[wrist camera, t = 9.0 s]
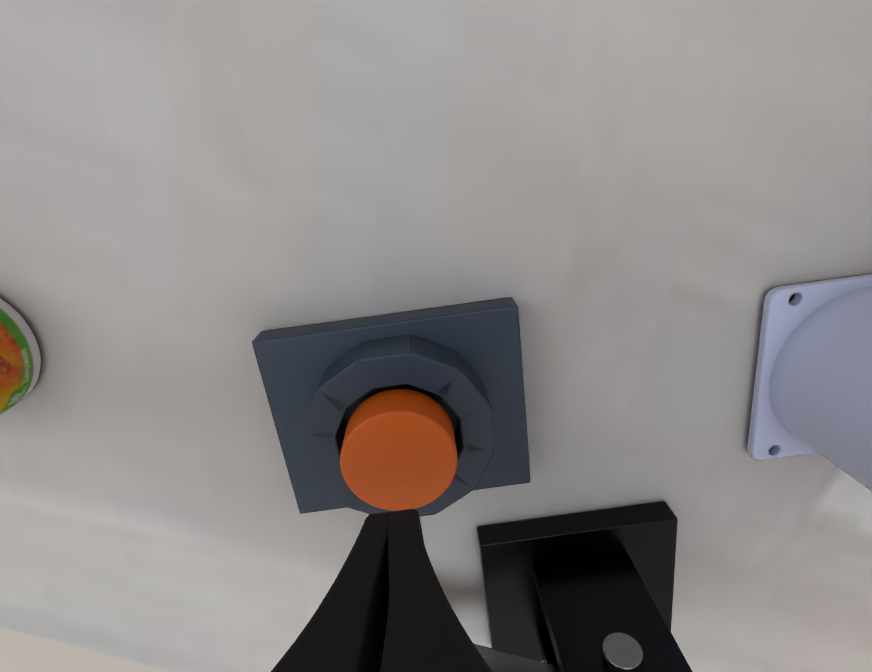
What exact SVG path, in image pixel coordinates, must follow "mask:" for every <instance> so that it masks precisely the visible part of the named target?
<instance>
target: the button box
mask: <svg viewBox="0 0 872 672" xmlns="http://www.w3.org/2000/svg"><path fill="white" fill-rule="evenodd" d="M252 344H253V348H254V351H255V355H256V359H257V362H258V366H259V369H260V373H261V376H262V380H263V383H264V387H265V391H266V394H267V398H268V401H269V405H270V408H271V412H272V415H273V419H274V423H275V426H276V430H277V433H278V437H279V440H280V444H281V447H282V451H283V455H284V458H285V462H286V465H287V469H288V472H289V476H290V479H291V483H292V487H293V490H294V494H295V497H296V501H297V504H298V508H299V511H300V513H309V512H316V511H323V510H331V509H338V508H345V507H348V508H352V509H355V510H358V511H362V512H365V513H368V514H377V513H384V512H392V511H391V510H385V509H380V508H377V507H374V506H372V505H370V504H368V503H366V502H364V501H363V500H361V499H360V498H359V497H357V496H356V495H355V494H354V493H353V492H352V491H351V490H350V488H349V487H348V485H347V484H346V482H345V480H344V478H343V475H342V472H341V468H340V454H341V448H342V444H343V440H344V436H345V432H346V428H347V424H348V421H349V419H350V417H351V415H352V413H353V412H354V411H355V409H356V408H357V407H358V406H359V405H360V404H361V403H362V402H363V401H365V400H366V399H368V398H369V397H371V396H373V395H375V394H377V393H380V392H383V391H387V390H392V389H408V390H414V391H417V392H421V393H423V394H425V395H427V396H429V397H431V398H433V399H434V400H435V401H437V402H438V403H439V404H440V405H441V406H442V407H443V408H444V409H445V411H446V412H447V414H448V415H449V417H450V419H451V422H452V425H453V430H454V436H455V443H456V449H457V458H458V463H457V470H456V474H455V476H454V478H453V480H452V482H451V484H450V486H449V487H448V488H447V489H446V491H445V492H444V493H443V494H442V495H441V496H440V497H438V498H437V499H436V500H434V501H433V502H431V503H429V504H427V505H425V506H423V507H420V508H416V509H415V510H417V511H418V512H419V516H426V515H433V514H436V513H439V512H440V511H442V510H443V509H445V508H446V507H448V506H449V505H451V504H452V503H454V502H456V501H457V500H459V499H460V498H462V497H463V496H465V495H466V494H468V493H469V492H471V491H472V490H478V489H485V488H492V487H500V486H507V485H514V484H522V483H529V482H530V467H529V453H528V439H527V425H526V411H525V397H524V383H523V369H522V355H521V341H520V327H519V313H518V306H517V304H516V303H515V302H514V300H513V299H512V298H503V299H496V300H488V301H481V302H474V303H466V304H459V305H452V306H444V307H437V308H430V309H422V310H415V311H408V312H400V313H393V314H386V315H379V316H371V317H364V318H357V319H349V320H342V321H335V322H327V323H320V324H313V325H305V326H298V327H291V328H283V329H276V330H269V331H262V332H260V333H259V335H258V336H257V337H256V338H255V339H254V340H253V341H252Z"/></svg>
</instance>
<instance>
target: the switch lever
mask: <svg viewBox="0 0 872 672" xmlns="http://www.w3.org/2000/svg"><path fill="white" fill-rule="evenodd" d="M474 645H475V647H476V648H477V650H478V651H479V653H480V654H481V656H482V657H483V658H484V660H485V661H486V663H487V664H488V666H489V667H490V669H491V670H492V671H493V672H560V669H559V666H558V665H554V664H550V663H546V662H542V661H538V660H534V659H531V658H527V657H523V656H519V655H515V654H511V653H507V652H503V651H500V650H496V649H492V648H488V647H484V646H480V645H476V644H474Z"/></svg>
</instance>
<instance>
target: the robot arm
mask: <svg viewBox="0 0 872 672" xmlns="http://www.w3.org/2000/svg"><path fill="white" fill-rule="evenodd" d="M792 294H794V295H795V296H794V299H793V300H792V301H791V302H789V298H790V296H791V295H792ZM772 446H773V448H771V447H772ZM770 448H771V449H770ZM769 449H770V450H769ZM747 452H748V454H749V455H750V456H751V457H752V458H753V459H755V460H758V461H762V460H769V459H777V458H784V457H792V456H799V455H806V454H814V453H819V454H821V455H822V456H824V457H825V458H826V459H828V460H829V461H830V462H832V463H833V464H835V465H836V466H837V467H839V468H840V469H841V470H843V471H844V472H846V473H847V474H848V475H850V476H851V477H852V478H854V479H855V480H857V481H858V482H859V483H861V484H862V485H863V486H865V487H866V488H868V489H869V490H870V491H872V274H867V275H860V276H852V277H845V278H838V279H830V280H823V281H816V282H808V283H801V284H794V285H786V286H779V287H775V288H773V289H771V290H770V291H769V292H768V293H767V294H766V296H765V299H764V305H763V314H762V323H761V331H760V340H759V349H758V358H757V366H756V375H755V384H754V392H753V401H752V410H751V418H750V427H749V436H748V445H747ZM271 672H493V671H492V670H491V669H490V667H489V666H488V664H487V663H486V661H485V660H484V658H483V657H482V656H481V654H480V653H479V651H478V650H477V648H476V647H475V645H474V644H473V643H472V641H471V640H470V638H469V636H468V635H467V633H466V632H465V630H464V628H463V627H462V625H461V623H460V622H459V620H458V618H457V616H456V615H455V613H454V611H453V609H452V607H451V606H450V604H449V602H448V600H447V598H446V596H445V594H444V592H443V590H442V588H441V586H440V583H439V581H438V579H437V577H436V575H435V572H434V570H433V567H432V565H431V562H430V560H429V557H428V554H427V552H426V549H425V546H424V540H423V534H422V529H421V523H420V517H419V512H418V511H417V510H415V509H407V510H399V511H392V512H384V513H377V514H369V516H368V517H367V518H366V520H365V522H364V524H363V527H362V529H361V531H360V533H359V536H358V538H357V540H356V542H355V544H354V546H353V548H352V550H351V552H350V554H349V556H348V558H347V560H346V561H345V563H344V565H343V567H342V569H341V571H340V572H339V574H338V576H337V578H336V580H335V581H334V583H333V585H332V586H331V588H330V590H329V591H328V593H327V595H326V596H325V598H324V599H323V601H322V603H321V604H320V606H319V608H318V609H317V611H316V612H315V614H314V615H313V617H312V618H311V620H310V621H309V623H308V624H307V625H306V627H305V628H304V630H303V631H302V632H301V634H300V635H299V636H298V638H297V639H296V641H295V642H294V643H293V645H292V646H291V647H290V648H289V650H288V651H287V652H286V653H285V655H284V656H283V657H282V658H281V660H280V661H279V662H278V663H277V665H276V666H275V667H274V668H273V670H272V671H271Z"/></svg>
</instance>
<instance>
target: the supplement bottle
mask: <svg viewBox="0 0 872 672" xmlns="http://www.w3.org/2000/svg"><path fill="white" fill-rule="evenodd" d="M40 367H41V357H40V351H39V347H38V344H37V341H36V339H35V336H34V334H33V333H32V331H31V329H30V327H29V326H28V324H27V323H26V322H25V320H24V319H23V318H22V317H21V315H20V314H19V313H18V312H17V311H16V310H15V309H14V308H13V307H11V306H10V305H9V304H8V303H6V302H5V301H3V300H2V299H0V414H1V413H3V412H4V411H6V410H8V409H9V408H11V407H12V406H14V405H15V404H17V403H18V402H20V401H21V400H22V399H24V398H25V397H26V396H27V395H28V394H29V393H30V391H31V390H32V389H33V387H34V386H35V384H36V382H37V380H38V377H39V373H40Z"/></svg>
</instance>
